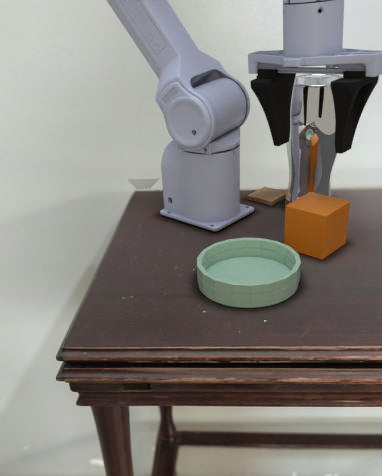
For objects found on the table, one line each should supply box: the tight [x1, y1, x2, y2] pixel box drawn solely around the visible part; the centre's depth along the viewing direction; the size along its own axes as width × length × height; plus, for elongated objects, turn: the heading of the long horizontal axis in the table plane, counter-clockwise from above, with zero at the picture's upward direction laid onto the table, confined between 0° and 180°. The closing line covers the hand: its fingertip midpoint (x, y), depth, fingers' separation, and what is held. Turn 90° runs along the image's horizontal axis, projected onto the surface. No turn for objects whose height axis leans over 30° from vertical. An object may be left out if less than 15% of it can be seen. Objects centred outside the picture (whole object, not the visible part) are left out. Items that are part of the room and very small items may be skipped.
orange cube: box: [283, 192, 351, 260], centre depth 63 cm, size 5×5×5 cm
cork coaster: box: [246, 186, 287, 207], centre depth 76 cm, size 4×4×1 cm
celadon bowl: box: [196, 237, 302, 309], centre depth 58 cm, size 10×10×2 cm
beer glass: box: [284, 74, 343, 206], centre depth 70 cm, size 7×7×15 cm
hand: (311, 147), depth 61 cm, fingers open, 7 cm apart
